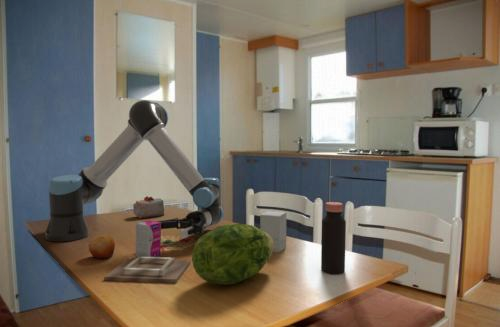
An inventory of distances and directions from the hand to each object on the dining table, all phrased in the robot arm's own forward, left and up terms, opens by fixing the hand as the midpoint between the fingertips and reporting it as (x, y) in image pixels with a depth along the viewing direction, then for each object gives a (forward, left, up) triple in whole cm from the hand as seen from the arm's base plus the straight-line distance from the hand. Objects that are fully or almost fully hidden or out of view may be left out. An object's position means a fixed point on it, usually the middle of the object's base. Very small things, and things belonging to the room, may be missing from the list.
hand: (164, 232), depth 134 cm
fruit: (-18, -8, -7) cm, 21 cm away
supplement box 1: (-3, -7, -7) cm, 11 cm away
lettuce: (+28, -23, -7) cm, 37 cm away
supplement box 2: (+37, +7, -7) cm, 38 cm away
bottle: (+55, -14, -7) cm, 57 cm away
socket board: (+2, -20, -6) cm, 22 cm away
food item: (-25, +56, -7) cm, 61 cm away
